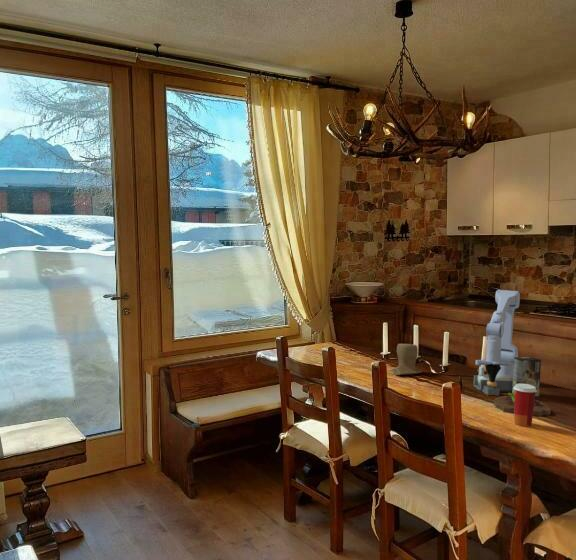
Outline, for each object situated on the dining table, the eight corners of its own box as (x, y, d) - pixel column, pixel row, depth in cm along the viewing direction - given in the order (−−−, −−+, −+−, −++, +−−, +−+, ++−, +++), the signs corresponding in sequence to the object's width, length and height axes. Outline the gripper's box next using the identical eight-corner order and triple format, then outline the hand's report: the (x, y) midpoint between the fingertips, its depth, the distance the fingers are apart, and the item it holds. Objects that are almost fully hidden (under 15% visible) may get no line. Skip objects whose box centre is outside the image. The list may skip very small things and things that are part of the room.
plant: (488, 400, 234) (490, 373, 233) (538, 403, 231) (539, 376, 231) (501, 415, 214) (503, 386, 213) (555, 418, 211) (557, 389, 211)
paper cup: (528, 421, 206) (530, 383, 205) (538, 428, 198) (541, 388, 197) (507, 420, 206) (509, 382, 205) (516, 427, 198) (519, 388, 197)
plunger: (484, 390, 244) (485, 380, 244) (494, 391, 244) (494, 380, 244) (488, 393, 240) (489, 382, 240) (497, 393, 240) (498, 383, 240)
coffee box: (529, 392, 247) (531, 356, 246) (539, 396, 241) (541, 359, 240) (511, 393, 245) (513, 357, 244) (521, 397, 239) (523, 360, 238)
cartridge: (477, 384, 253) (478, 365, 253) (505, 385, 254) (506, 366, 253) (481, 387, 248) (482, 368, 248) (510, 388, 249) (511, 368, 248)
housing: (473, 386, 255) (473, 375, 255) (507, 387, 256) (508, 376, 256) (486, 395, 240) (487, 383, 240) (523, 396, 241) (524, 384, 240)
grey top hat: (409, 370, 284) (411, 340, 283) (425, 375, 274) (426, 344, 273) (384, 372, 278) (386, 342, 277) (399, 377, 267) (401, 346, 266)
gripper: (480, 352, 237) (478, 383, 238) (514, 352, 238) (512, 384, 238) (474, 348, 244) (472, 379, 245) (507, 349, 245) (505, 380, 245)
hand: (491, 381), depth 242 cm, fingers closed, pressing on plunger
